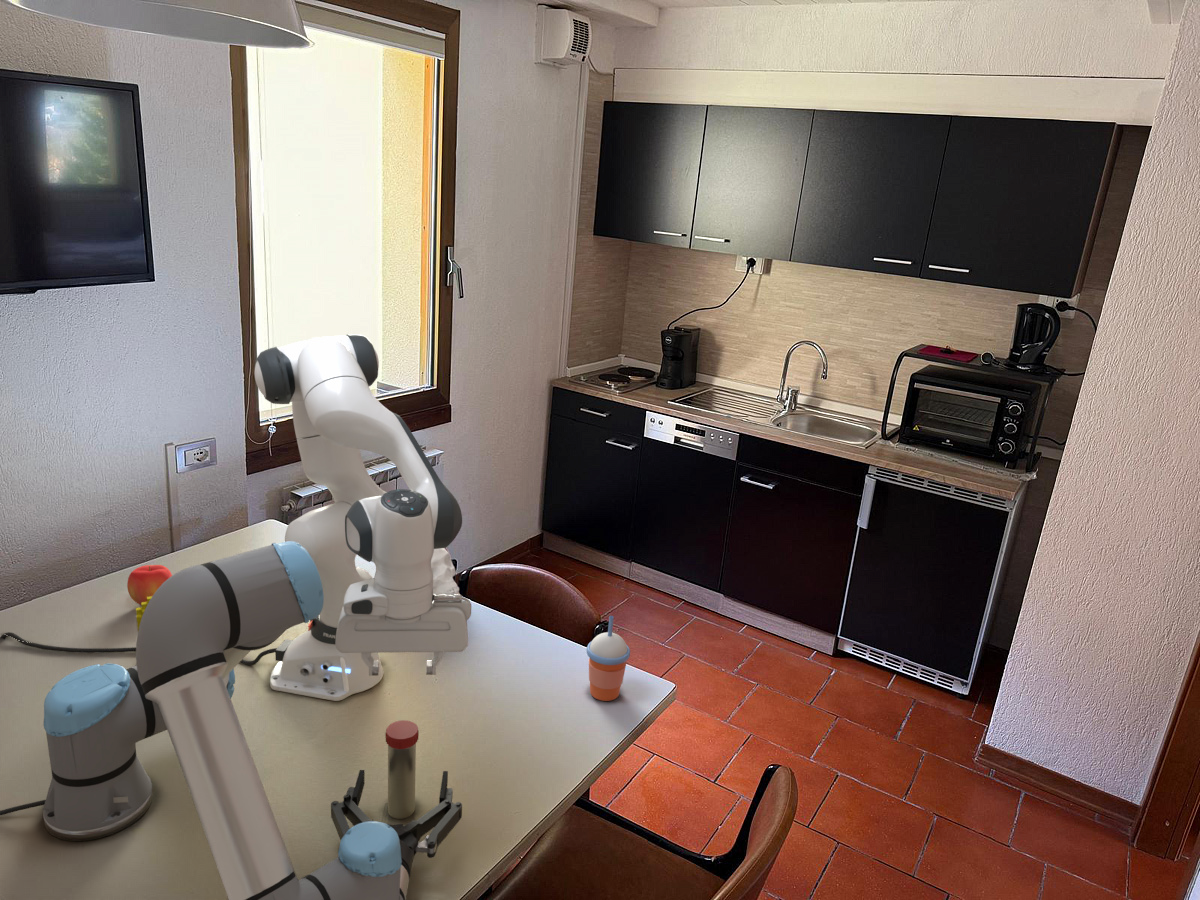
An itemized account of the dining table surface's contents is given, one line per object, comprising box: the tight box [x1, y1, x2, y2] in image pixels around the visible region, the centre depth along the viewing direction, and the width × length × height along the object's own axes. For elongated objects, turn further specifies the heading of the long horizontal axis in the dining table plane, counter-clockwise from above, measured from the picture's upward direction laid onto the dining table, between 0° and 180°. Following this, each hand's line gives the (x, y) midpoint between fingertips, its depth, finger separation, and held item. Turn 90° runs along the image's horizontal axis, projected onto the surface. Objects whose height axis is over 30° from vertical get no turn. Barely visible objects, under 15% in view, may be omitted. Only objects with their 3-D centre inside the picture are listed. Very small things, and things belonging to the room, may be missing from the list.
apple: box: [126, 564, 173, 607], centre depth 199 cm, size 10×10×10 cm
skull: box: [431, 548, 464, 601], centre depth 211 cm, size 13×22×16 cm, turn 67°
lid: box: [385, 719, 420, 749], centre depth 139 cm, size 5×5×2 cm
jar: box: [387, 743, 417, 820], centre depth 141 cm, size 4×4×15 cm
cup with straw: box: [586, 615, 631, 702], centre depth 178 cm, size 9×9×18 cm
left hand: (404, 777), depth 142 cm, fingers open, 13 cm apart
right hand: (402, 673), depth 136 cm, fingers open, 7 cm apart
